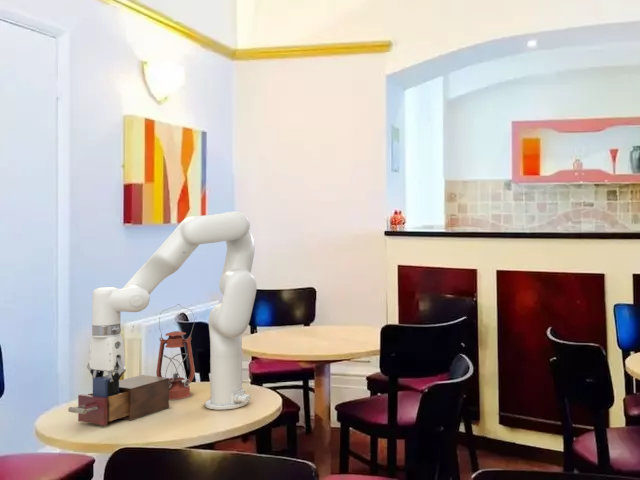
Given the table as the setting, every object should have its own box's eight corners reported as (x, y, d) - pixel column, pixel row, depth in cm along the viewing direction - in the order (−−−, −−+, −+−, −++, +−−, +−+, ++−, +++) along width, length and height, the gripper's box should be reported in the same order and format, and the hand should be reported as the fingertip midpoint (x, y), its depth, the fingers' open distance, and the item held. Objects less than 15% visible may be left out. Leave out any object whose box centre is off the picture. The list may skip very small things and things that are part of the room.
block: (119, 393, 198) (119, 376, 198) (104, 397, 194) (104, 380, 194) (107, 392, 200) (107, 375, 201) (92, 396, 196) (92, 378, 196)
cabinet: (130, 420, 198) (130, 388, 198) (102, 415, 203) (102, 384, 203) (169, 407, 211) (168, 378, 211) (141, 403, 216) (141, 374, 216)
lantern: (183, 390, 232) (183, 301, 233) (197, 396, 225) (196, 304, 226) (155, 395, 226) (155, 304, 226) (168, 401, 218) (167, 307, 219)
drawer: (88, 430, 186) (88, 403, 186) (62, 425, 190) (62, 399, 190) (142, 412, 202) (142, 387, 202) (117, 409, 207) (117, 384, 207)
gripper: (138, 330, 197) (137, 394, 197) (96, 327, 205) (96, 388, 204) (116, 334, 191) (116, 400, 190) (74, 330, 198) (74, 394, 198)
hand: (106, 393), depth 197 cm, fingers closed on block, 5 cm apart
